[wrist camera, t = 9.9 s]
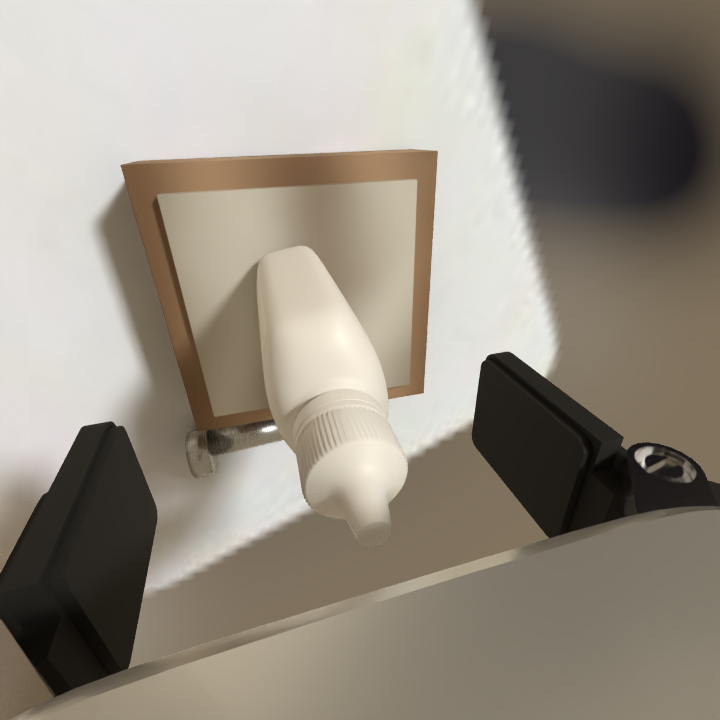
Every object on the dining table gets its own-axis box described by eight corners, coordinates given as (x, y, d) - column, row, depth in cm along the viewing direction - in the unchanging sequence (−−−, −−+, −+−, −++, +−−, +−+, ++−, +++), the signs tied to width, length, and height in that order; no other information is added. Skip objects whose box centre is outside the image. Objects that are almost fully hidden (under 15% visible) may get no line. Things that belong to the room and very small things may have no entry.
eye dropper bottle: (238, 355, 18) (230, 632, 8) (264, 232, 16) (298, 398, 6) (329, 369, 20) (420, 617, 10) (364, 259, 18) (531, 428, 7)
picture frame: (203, 398, 23) (197, 436, 20) (139, 160, 17) (117, 165, 14) (405, 367, 25) (426, 397, 22) (411, 149, 19) (441, 151, 16)
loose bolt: (198, 442, 24) (201, 484, 23) (184, 424, 22) (186, 469, 21) (296, 420, 25) (304, 458, 24) (292, 400, 23) (300, 442, 22)
